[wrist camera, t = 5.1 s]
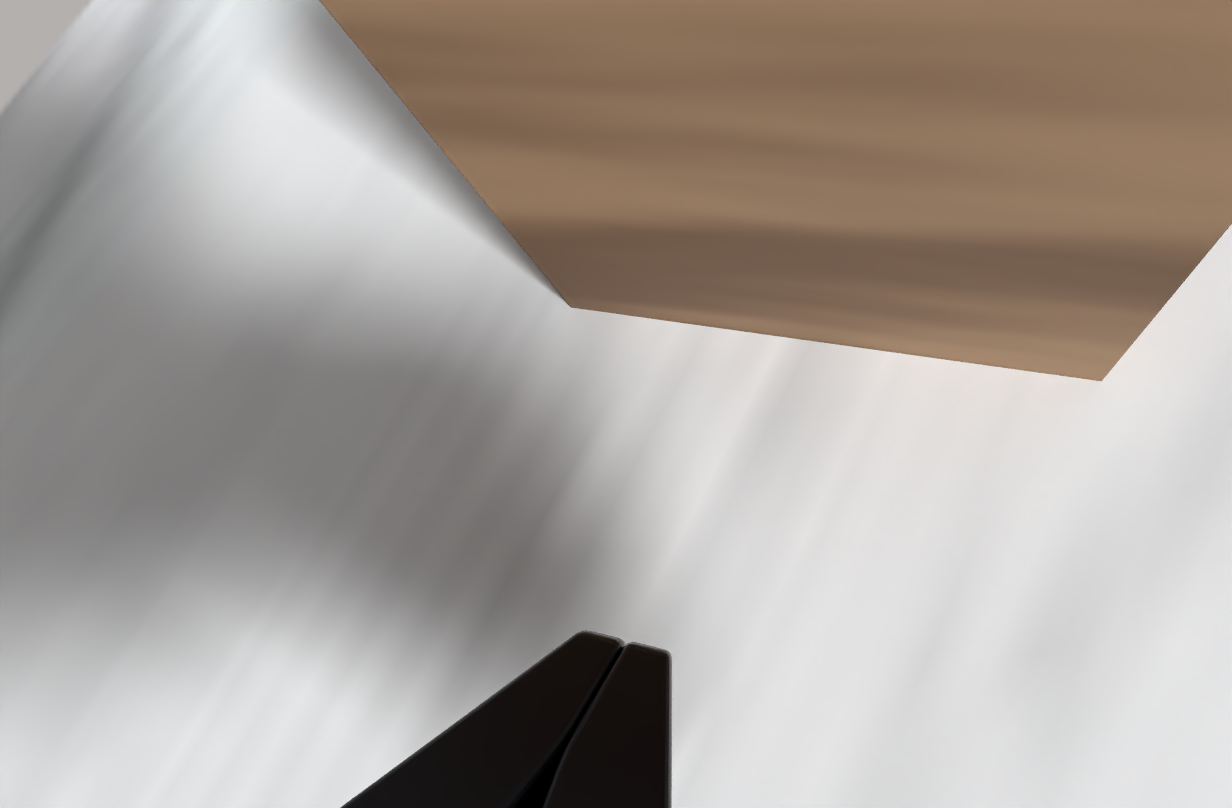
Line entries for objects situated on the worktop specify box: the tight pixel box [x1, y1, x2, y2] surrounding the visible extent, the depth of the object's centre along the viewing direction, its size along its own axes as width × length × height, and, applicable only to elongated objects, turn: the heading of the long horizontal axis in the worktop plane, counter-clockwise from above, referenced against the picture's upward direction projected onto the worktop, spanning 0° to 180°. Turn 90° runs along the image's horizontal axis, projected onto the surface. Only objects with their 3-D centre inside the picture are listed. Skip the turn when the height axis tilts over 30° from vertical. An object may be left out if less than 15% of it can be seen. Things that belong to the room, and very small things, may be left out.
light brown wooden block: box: [320, 0, 1232, 381], centre depth 13 cm, size 4×10×10 cm, turn 76°
